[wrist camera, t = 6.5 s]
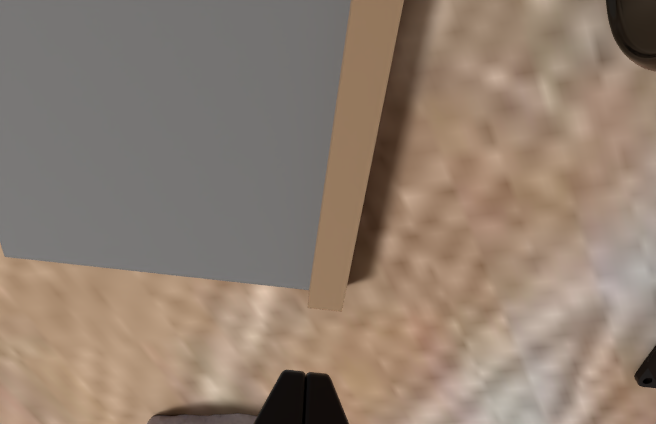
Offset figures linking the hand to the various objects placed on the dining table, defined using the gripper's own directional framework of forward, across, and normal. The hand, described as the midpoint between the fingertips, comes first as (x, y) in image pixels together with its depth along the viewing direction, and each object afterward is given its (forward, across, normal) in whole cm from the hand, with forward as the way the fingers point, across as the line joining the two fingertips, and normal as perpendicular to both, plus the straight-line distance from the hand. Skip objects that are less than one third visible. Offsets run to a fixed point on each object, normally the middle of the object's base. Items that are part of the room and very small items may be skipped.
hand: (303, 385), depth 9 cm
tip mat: (+13, +6, 0) cm, 14 cm away
